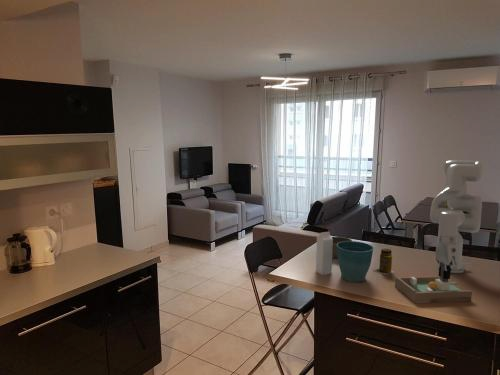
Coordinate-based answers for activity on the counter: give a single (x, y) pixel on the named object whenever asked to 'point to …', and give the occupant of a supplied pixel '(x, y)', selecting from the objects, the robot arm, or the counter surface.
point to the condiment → (385, 262)
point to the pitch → (429, 290)
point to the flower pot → (354, 259)
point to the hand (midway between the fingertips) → (444, 277)
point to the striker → (443, 280)
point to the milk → (324, 253)
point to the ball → (432, 285)
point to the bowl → (336, 241)
